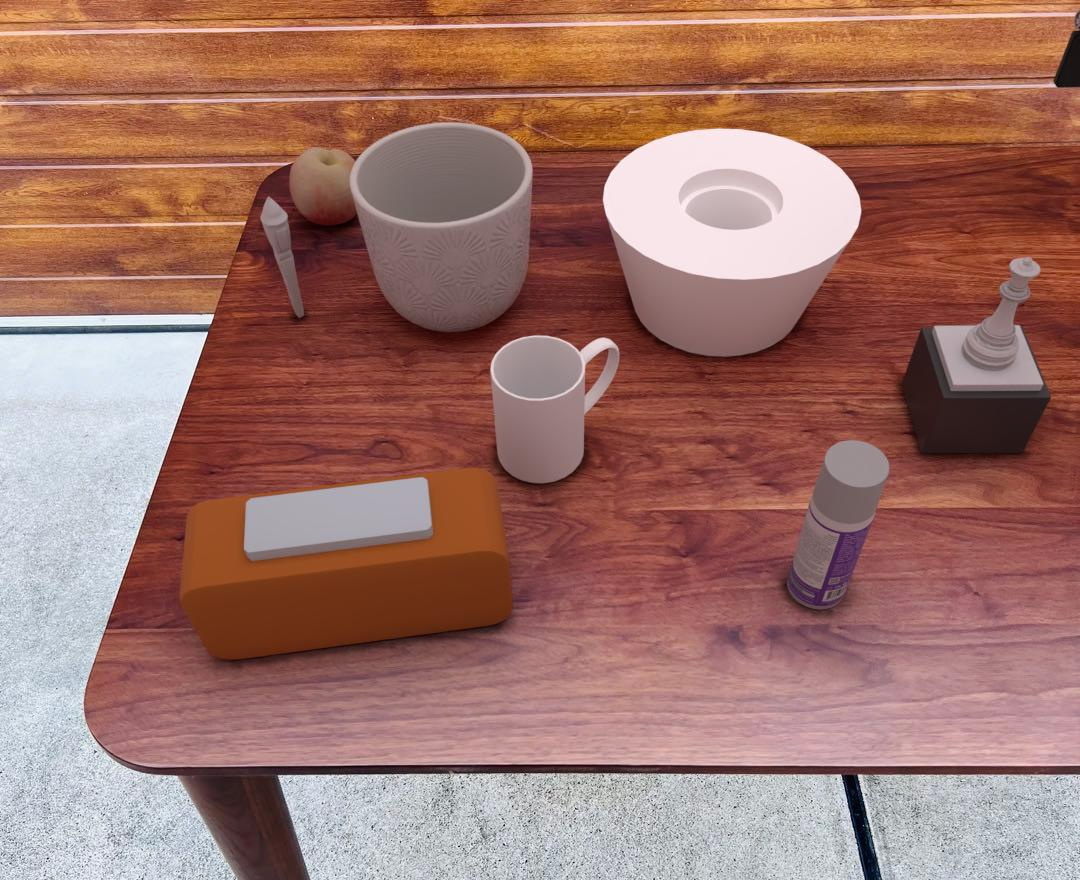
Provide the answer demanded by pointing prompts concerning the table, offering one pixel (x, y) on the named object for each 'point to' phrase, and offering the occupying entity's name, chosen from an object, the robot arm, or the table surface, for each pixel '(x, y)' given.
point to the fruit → (323, 186)
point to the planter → (446, 222)
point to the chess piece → (1001, 321)
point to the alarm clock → (346, 563)
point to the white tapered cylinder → (727, 235)
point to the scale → (971, 396)
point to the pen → (282, 249)
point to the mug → (544, 404)
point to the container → (837, 523)
